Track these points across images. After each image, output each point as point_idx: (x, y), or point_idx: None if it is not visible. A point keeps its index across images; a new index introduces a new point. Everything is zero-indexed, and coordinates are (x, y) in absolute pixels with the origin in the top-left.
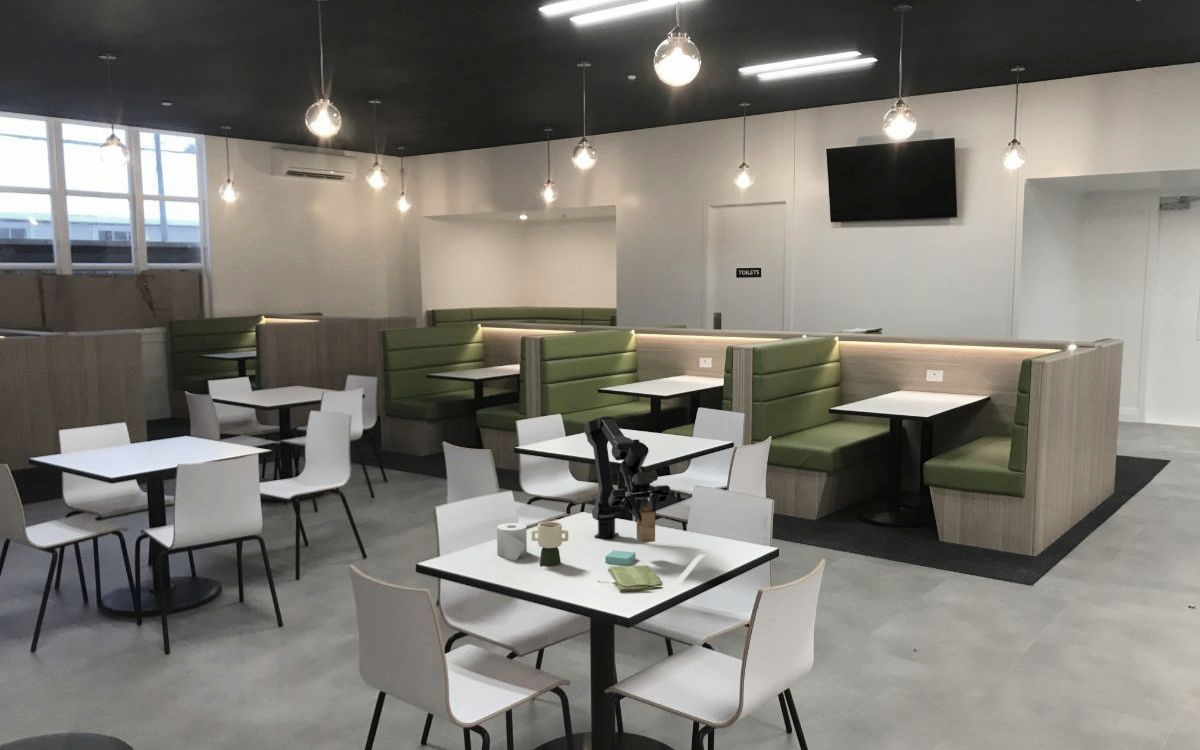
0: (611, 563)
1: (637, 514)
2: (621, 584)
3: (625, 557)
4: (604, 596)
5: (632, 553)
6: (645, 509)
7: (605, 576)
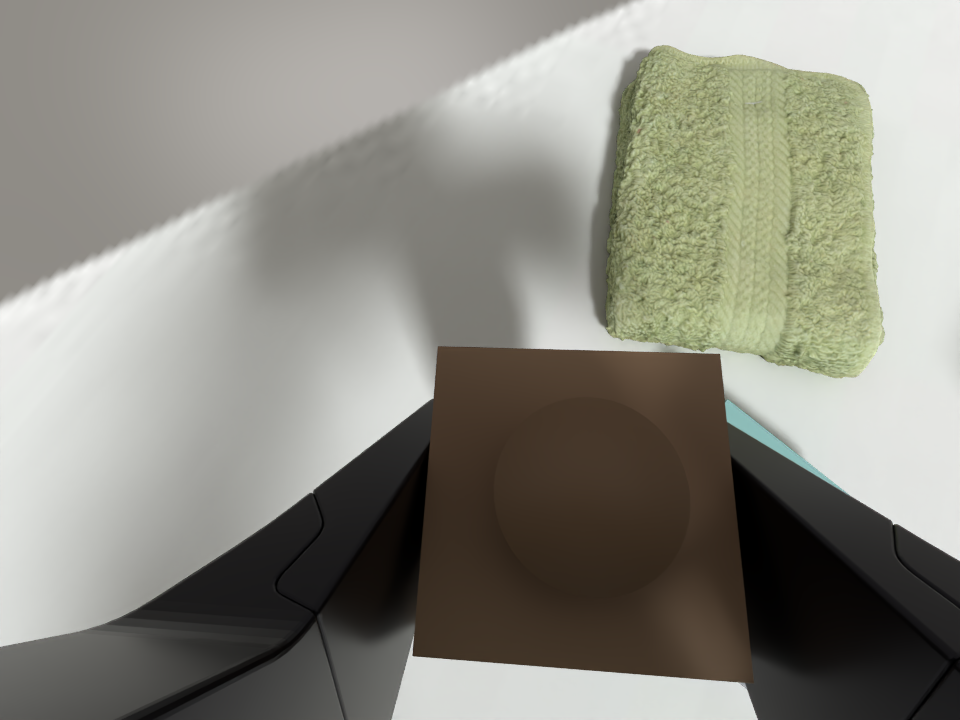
0: None
1: (776, 460)
2: (859, 87)
3: None
4: (939, 77)
5: None
6: (628, 412)
7: None
